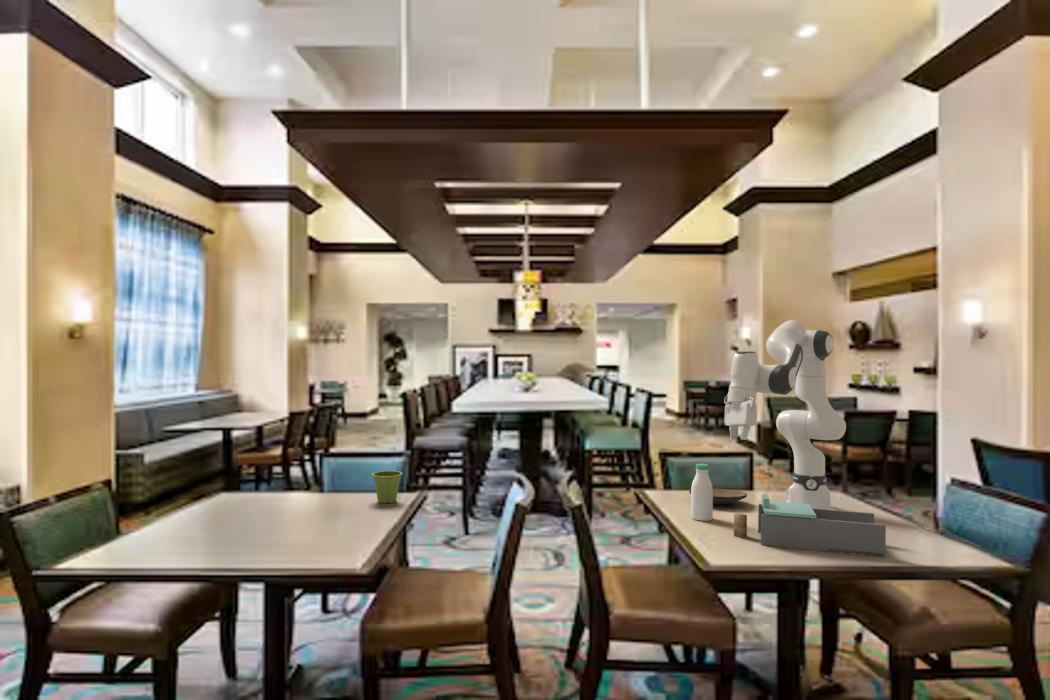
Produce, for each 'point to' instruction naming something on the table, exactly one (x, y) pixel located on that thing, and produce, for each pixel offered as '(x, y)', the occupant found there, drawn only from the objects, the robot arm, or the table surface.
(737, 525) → the tan rounded cylinder
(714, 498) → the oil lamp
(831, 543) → the housing
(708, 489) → the milk bottle
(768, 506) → the lid
